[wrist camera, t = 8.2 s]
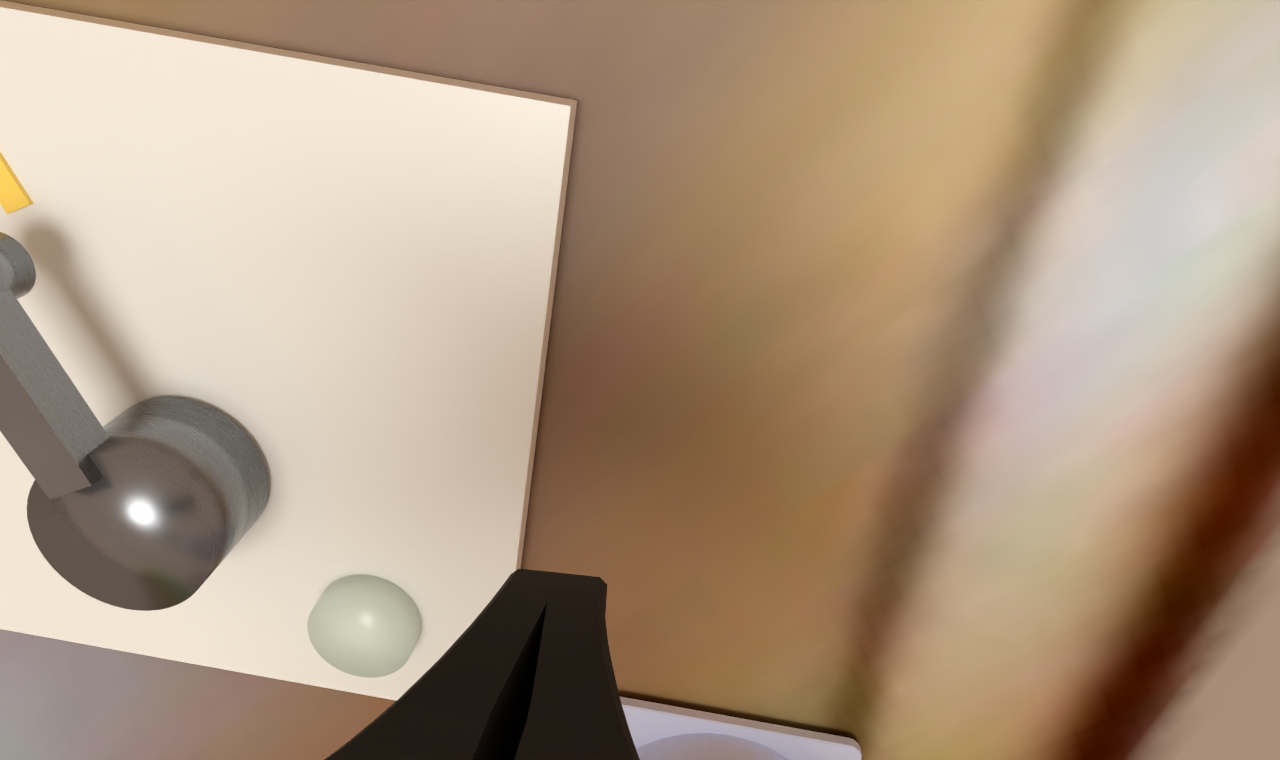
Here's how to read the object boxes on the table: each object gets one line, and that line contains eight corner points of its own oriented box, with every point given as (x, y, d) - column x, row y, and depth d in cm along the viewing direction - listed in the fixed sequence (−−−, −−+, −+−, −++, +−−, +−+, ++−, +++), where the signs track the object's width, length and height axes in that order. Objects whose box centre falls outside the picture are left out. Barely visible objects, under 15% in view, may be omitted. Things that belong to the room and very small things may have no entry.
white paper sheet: (505, 694, 28) (492, 739, 26) (2, 603, 28) (-43, 642, 26) (577, 100, 20) (564, 111, 18) (-114, -20, 20) (-187, -20, 19)
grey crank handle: (298, 517, 24) (236, 596, 21) (164, 557, 25) (86, 638, 22) (98, 185, 21) (-12, 222, 18) (-48, 246, 22) (-177, 291, 18)
